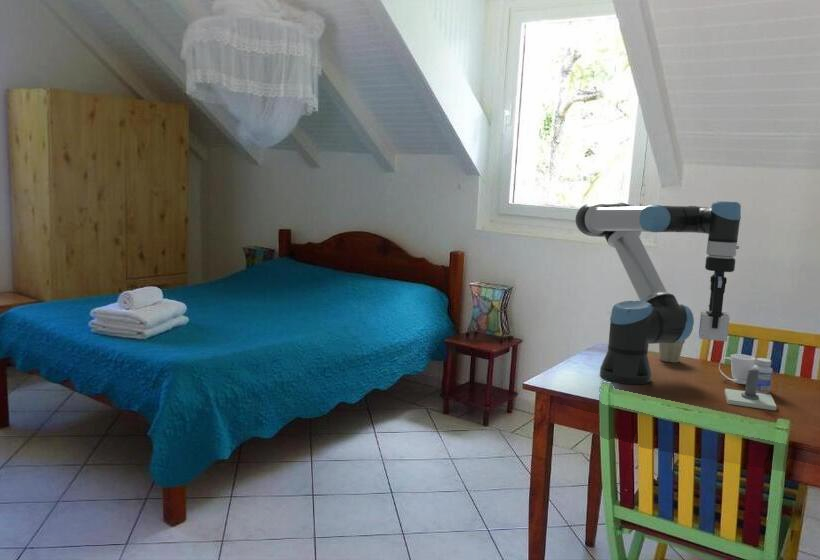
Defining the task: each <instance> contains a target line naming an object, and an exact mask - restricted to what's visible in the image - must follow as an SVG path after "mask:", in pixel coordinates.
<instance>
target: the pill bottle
mask: <svg viewBox="0 0 820 560" xmlns="http://www.w3.org/2000/svg"><path fill="white" fill-rule="evenodd" d="M755 359H756V360H755V364H754V366H753V367H752V368H753V369H757V370H759V374H758V382H757V390H756V393H762V394H770V393H771V392H770V391H771V384H772V380H773V372H774V370H773V368H772V367H771V365H772V360H771V359H769V358H764V357H757V358H755Z"/></svg>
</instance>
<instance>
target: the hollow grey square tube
mask: <svg viewBox="0 0 820 560" xmlns="http://www.w3.org/2000/svg"><path fill="white" fill-rule="evenodd" d="M708 314H711V311H709V310H701V309H700V317H699V327H698V328H699V329H698V337H699V339H701V340H707V341H708V340H709V341H712V340H711V339H708V332H709V322H710V316H708ZM729 323H730V315H729V313H728V312H723V311H722V316H721V321H720V330H719V340H716V341H717V342H718V341H719V342H728V336H729V335H728V334H729V325H730V324H729Z"/></svg>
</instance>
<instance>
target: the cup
mask: <svg viewBox="0 0 820 560" xmlns="http://www.w3.org/2000/svg"><path fill="white" fill-rule="evenodd" d="M756 359H757V358H755V357H754V356H753V355H748V354H742V353H734V354H733V353H732V354H730V357H729V356H725V357H723V358H721V359H720V361H719V363H718V371H719V372H720V374H721V375H722V376H723V377H725V378H726V379H727V380H729V381H731V382H733V383H736V384H738V385H739V384H740V385H746V379H747V371H748V368H752V367H753V366H754V365H755V364H756ZM724 360H729V361H730V365H731V366H730V370H731V377H732V378H730V377H728V376H727V375H726V374H725V373H724V372H723V371H722V370H721V364H722V362H723V361H724Z"/></svg>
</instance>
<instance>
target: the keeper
mask: <svg viewBox="0 0 820 560" xmlns="http://www.w3.org/2000/svg"><path fill="white" fill-rule="evenodd" d="M758 374H759V370H757V369H753V368H748V371H747V379H746V384H745V389H744V390H739V389H731V388H724V395H725V399H726V402H727V404H728V405H735V406H739V407H740V406H741V407H748V408H755V409H756V408H757V409H762V410H763V409H764V410H768V411H777V405H776V403H775V400H774V399H773V396H772V394H770V393H767V394H762V393H756V390H757V382H758Z"/></svg>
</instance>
